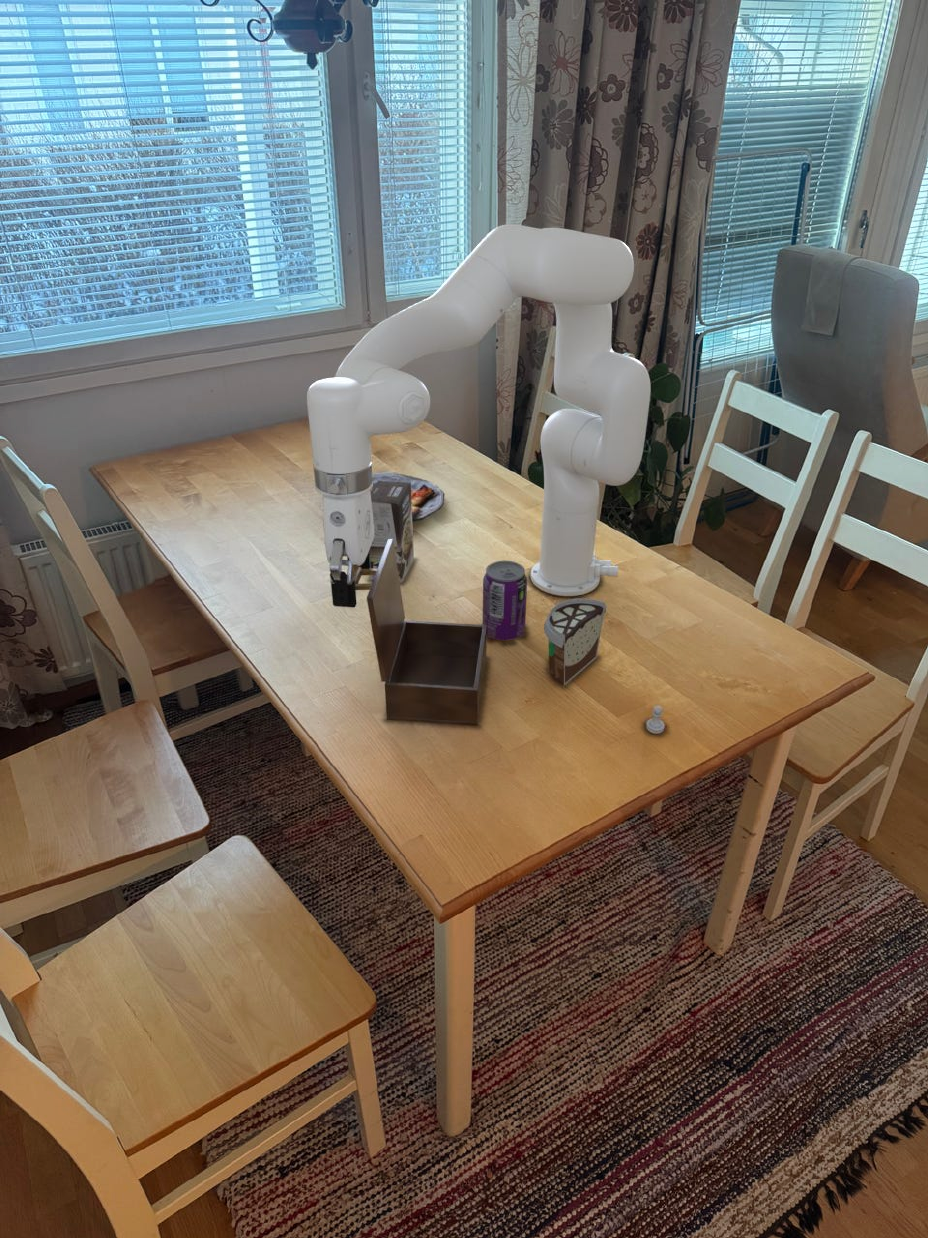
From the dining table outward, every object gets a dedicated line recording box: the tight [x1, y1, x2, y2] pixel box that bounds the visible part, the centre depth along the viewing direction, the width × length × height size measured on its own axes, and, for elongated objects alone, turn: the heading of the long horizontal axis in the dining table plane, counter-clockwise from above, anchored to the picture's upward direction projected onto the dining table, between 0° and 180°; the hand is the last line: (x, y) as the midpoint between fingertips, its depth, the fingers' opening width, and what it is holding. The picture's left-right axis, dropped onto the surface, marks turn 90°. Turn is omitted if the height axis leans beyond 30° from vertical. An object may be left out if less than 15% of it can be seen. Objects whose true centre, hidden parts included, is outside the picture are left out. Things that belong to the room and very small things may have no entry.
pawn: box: [645, 705, 666, 735], centre depth 121 cm, size 3×3×4 cm
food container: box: [543, 598, 607, 687], centre depth 132 cm, size 12×6×10 cm, turn 141°
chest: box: [383, 619, 488, 727], centre depth 128 cm, size 13×16×7 cm
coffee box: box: [369, 481, 415, 584], centre depth 154 cm, size 9×6×16 cm
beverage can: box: [481, 560, 528, 641], centre depth 139 cm, size 7×7×12 cm
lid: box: [352, 539, 406, 683], centre depth 123 cm, size 14×16×6 cm
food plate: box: [370, 471, 445, 523], centre depth 180 cm, size 25×23×4 cm
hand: (352, 587), depth 121 cm, fingers open, 9 cm apart
